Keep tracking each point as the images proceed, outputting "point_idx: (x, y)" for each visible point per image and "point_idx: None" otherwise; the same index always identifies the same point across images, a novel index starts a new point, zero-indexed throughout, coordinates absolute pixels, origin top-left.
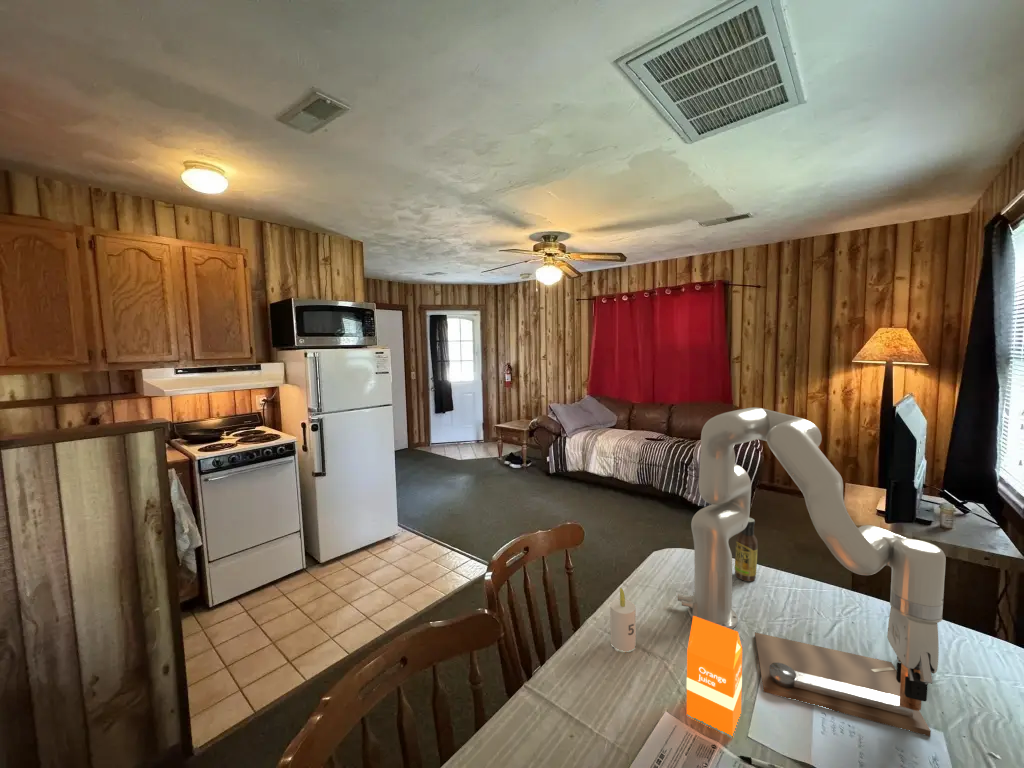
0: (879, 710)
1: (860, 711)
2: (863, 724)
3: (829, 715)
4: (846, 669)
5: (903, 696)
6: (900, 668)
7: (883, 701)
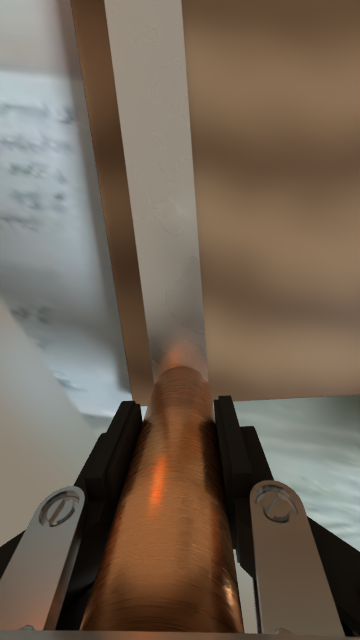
0: None
1: (110, 235)
2: (89, 241)
3: (70, 137)
4: (345, 224)
5: (159, 388)
6: (223, 461)
7: (148, 313)
